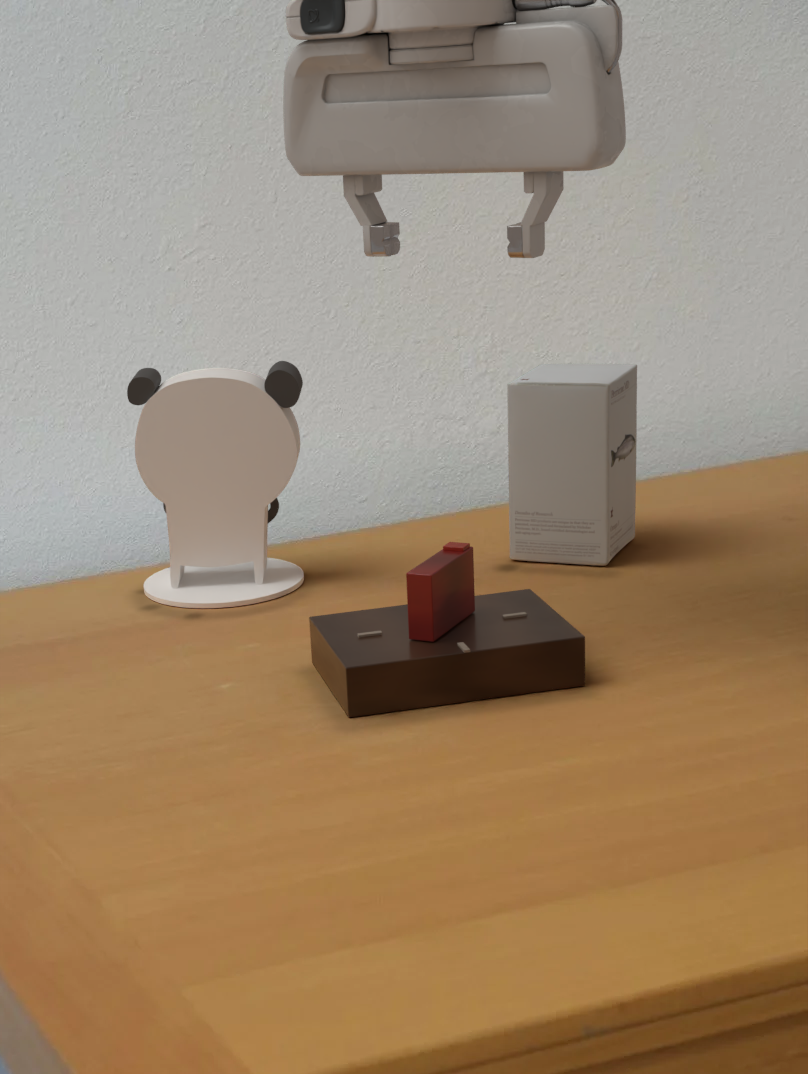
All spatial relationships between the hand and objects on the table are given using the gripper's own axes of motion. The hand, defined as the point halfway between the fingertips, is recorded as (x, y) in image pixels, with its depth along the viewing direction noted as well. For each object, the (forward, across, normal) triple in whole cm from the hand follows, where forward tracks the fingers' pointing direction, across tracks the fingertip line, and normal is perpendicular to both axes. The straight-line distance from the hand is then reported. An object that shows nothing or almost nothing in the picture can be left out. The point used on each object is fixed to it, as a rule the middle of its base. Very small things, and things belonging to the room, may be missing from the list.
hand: (452, 256), depth 105 cm
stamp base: (+23, -2, +6) cm, 24 cm away
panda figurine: (+23, +21, -4) cm, 32 cm away
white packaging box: (+23, +2, -20) cm, 31 cm away
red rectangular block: (+20, -2, +6) cm, 21 cm away
